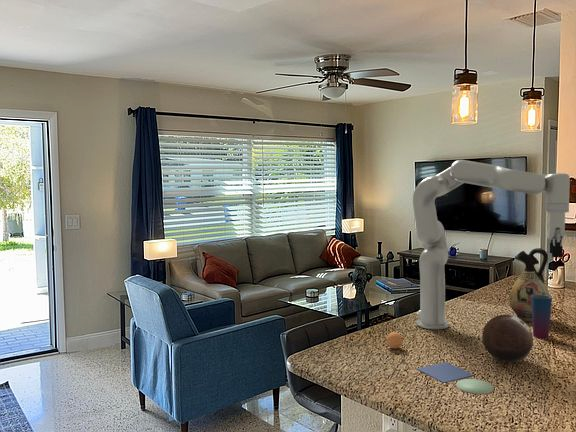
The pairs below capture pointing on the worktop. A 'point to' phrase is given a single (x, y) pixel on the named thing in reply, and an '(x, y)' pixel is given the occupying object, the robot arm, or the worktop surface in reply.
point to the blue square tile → (445, 372)
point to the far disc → (475, 386)
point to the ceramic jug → (528, 284)
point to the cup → (541, 315)
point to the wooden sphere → (507, 338)
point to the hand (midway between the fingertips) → (555, 255)
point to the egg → (394, 340)
